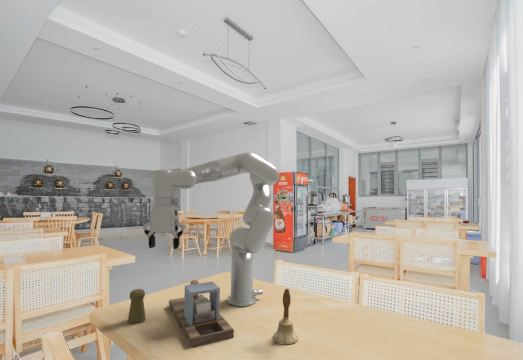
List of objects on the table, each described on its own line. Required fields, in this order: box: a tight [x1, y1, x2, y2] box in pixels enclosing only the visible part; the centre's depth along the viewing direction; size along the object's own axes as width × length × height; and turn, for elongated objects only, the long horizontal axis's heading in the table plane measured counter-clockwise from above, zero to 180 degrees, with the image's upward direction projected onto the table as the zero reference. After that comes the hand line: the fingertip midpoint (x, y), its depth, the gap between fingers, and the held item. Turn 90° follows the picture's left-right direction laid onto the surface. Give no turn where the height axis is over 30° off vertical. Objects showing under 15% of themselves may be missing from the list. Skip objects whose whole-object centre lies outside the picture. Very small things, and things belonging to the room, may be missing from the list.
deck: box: [168, 294, 235, 348], centre depth 109 cm, size 35×14×2 cm, turn 28°
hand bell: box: [272, 288, 299, 345], centre depth 97 cm, size 8×8×16 cm
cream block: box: [193, 297, 211, 314], centre depth 105 cm, size 5×5×6 cm
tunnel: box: [183, 281, 221, 326], centre depth 105 cm, size 8×10×11 cm
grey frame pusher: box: [189, 280, 215, 323], centre depth 108 cm, size 15×7×10 cm, turn 28°
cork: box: [127, 288, 146, 325], centre depth 108 cm, size 6×6×11 cm
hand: (163, 247), depth 111 cm, fingers open, 9 cm apart
